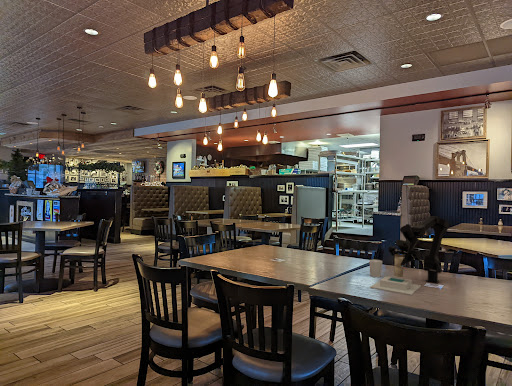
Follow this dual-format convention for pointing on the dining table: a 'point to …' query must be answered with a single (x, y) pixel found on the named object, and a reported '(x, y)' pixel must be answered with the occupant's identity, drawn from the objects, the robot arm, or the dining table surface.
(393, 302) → the dining table surface
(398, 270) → the tan cylinder
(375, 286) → the cream stepped platform
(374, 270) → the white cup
